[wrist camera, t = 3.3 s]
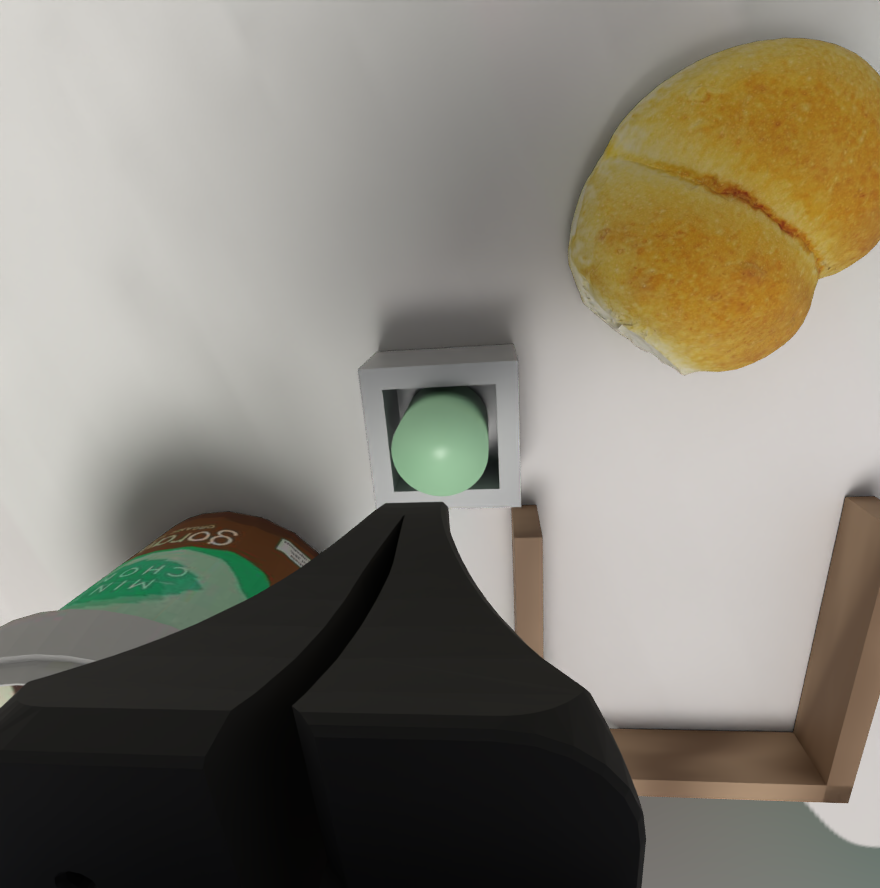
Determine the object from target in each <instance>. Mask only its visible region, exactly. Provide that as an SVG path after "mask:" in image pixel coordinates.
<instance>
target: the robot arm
mask: <svg viewBox="0 0 880 888" xmlns="http://www.w3.org/2000/svg"><path fill="white" fill-rule="evenodd" d="M645 844H646V835H645V826H644V816H643V811H642V808H641V804H640V801H639V798H638V794H637V791H636V789H635V786H634V784H633V781H632V779H631V776H630V773H629V771H628V768H627V766H626V764H625V761H624V759H623V756H622V754H621V752H620V750H619V748H618V745H617V743H616V741H615V739H614V737H613V735H612V733H611V731H610V729H609V727H608V725H607V723H606V721H605V719H604V718H603V716H602V714H601V712H600V710H599V708H598V706H597V704H596V703H595V701H594V699H593V697H592V696H591V694H590V693H589V692H588V691H587V690H586V689H585V688H584V687H582V686H581V685H579V684H578V683H577V682H575V681H574V680H572V679H571V678H569V677H568V676H567V675H565V674H564V673H562V672H561V671H560V670H558V669H557V668H555V667H554V666H553V665H551V664H550V663H548V662H547V661H545V660H544V659H543V658H542V657H541V656H539V655H538V654H537V653H536V652H535V651H534V650H533V649H531V648H530V647H529V646H528V645H527V644H526V643H525V642H524V641H523V640H522V639H521V638H520V637H519V636H518V635H517V634H516V633H515V632H514V631H513V629H512V628H511V627H510V626H509V625H508V624H507V623H506V622H505V621H504V620H503V619H502V618H501V617H500V616H499V615H498V613H497V612H496V611H495V610H494V608H493V607H492V606H491V605H490V603H489V602H488V601H487V600H486V598H485V597H484V595H483V594H482V592H481V591H480V590H479V588H478V587H477V585H476V584H475V582H474V581H473V579H472V577H471V576H470V574H469V572H468V570H467V568H466V567H465V565H464V563H463V561H462V559H461V557H460V555H459V553H458V551H457V548H456V546H455V543H454V541H453V538H452V536H451V533H450V524H449V511H448V506H447V505H446V504H445V503H444V502H409V503H385V504H383V505H382V506H380V507H379V508H378V509H376V510H375V511H374V512H373V513H371V514H370V515H369V516H368V517H366V518H365V519H364V520H363V521H362V522H360V523H359V524H358V525H357V526H355V527H354V528H353V529H352V530H350V531H349V532H348V533H347V534H345V535H344V536H343V537H342V538H340V539H339V540H338V541H337V542H335V543H334V544H333V545H331V546H330V547H329V548H327V549H326V550H324V551H323V552H322V553H320V554H319V555H318V556H316V557H315V558H313V559H312V560H311V561H309V562H308V563H306V564H305V565H304V566H302V567H301V568H299V569H298V570H296V571H295V572H293V573H292V574H290V575H289V576H287V577H285V578H284V579H282V580H280V581H279V582H277V583H275V584H274V585H272V586H270V587H268V588H267V589H265V590H263V591H261V592H260V593H258V594H256V595H254V596H253V597H251V598H249V599H247V600H245V601H243V602H241V603H239V604H237V605H235V606H233V607H230V608H228V609H226V610H224V611H222V612H220V613H218V614H216V615H214V616H212V617H210V618H208V619H205V620H203V621H201V622H199V623H197V624H195V625H192V626H190V627H188V628H185V629H183V630H180V631H178V632H175V633H173V634H170V635H168V636H166V637H163V638H160V639H158V640H155V641H152V642H150V643H147V644H144V645H142V646H139V647H136V648H134V649H131V650H128V651H125V652H122V653H119V654H117V655H114V656H111V657H107V658H104V659H101V660H98V661H95V662H91V663H88V664H85V665H82V666H79V667H75V668H72V669H69V670H66V671H62V672H59V673H56V674H53V675H50V676H46V677H43V678H39V679H35V680H32V681H29V682H27V683H26V684H25V685H24V686H23V687H22V688H21V689H20V690H18V691H17V692H16V693H15V694H14V695H13V696H12V697H11V698H10V699H9V700H8V701H7V702H6V703H5V704H4V705H3V706H2V707H1V708H0V888H641V884H642V875H643V863H644V854H645Z"/></svg>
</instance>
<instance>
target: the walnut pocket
mask: <svg viewBox="0 0 880 888" xmlns="http://www.w3.org/2000/svg"><path fill="white" fill-rule="evenodd" d="M511 513H512V547H513V581H514V615H515V633H516V634H517V635H518V636H519V637H520V638H521V639H522V640H523V641H524V642H525V643H526V644H527V645H528V646H529V647H530V648H531V649H533V650H534V651H535V652H536V653H537V654H538V655H539V656H541V657H542V658H543V537H542V532H541V527H540V521H539V516H538V511H537V506H536V505H521V507H511ZM879 695H880V500H879V499H878V498H876V497H875V496H866V497H845V502H844V506H843V511H842V515H841V520H840V524H839V529H838V533H837V538H836V542H835V547H834V551H833V555H832V560H831V564H830V569H829V573H828V578H827V582H826V587H825V591H824V596H823V600H822V605H821V609H820V614H819V618H818V623H817V627H816V632H815V636H814V641H813V645H812V650H811V654H810V659H809V663H808V668H807V672H806V677H805V681H804V686H803V690H802V695H801V699H800V704H799V708H798V713H797V717H796V722H795V726H794V731H793V732H750V731H702V730H654V729H610V731H611V733H612V735H613V737H614V739H615V741H616V743H617V745H618V748H619V750H620V752H621V754H622V756H623V759H624V761H625V764H626V766H627V768H628V771H629V773H630V776H631V779H632V781H633V784H634V786H635V789H636V791H637V794H638V796H655V797H656V796H657V797H683V798H712V799H741V800H742V799H743V800H770V801H798V802H827V803H848V802H849V798H850V795H851V791H852V788H853V785H854V781H855V778H856V774H857V771H858V767H859V764H860V760H861V757H862V754H863V750H864V747H865V743H866V740H867V736H868V733H869V730H870V726H871V723H872V719H873V716H874V712H875V709H876V706H877V702H878V699H879Z"/></svg>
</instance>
